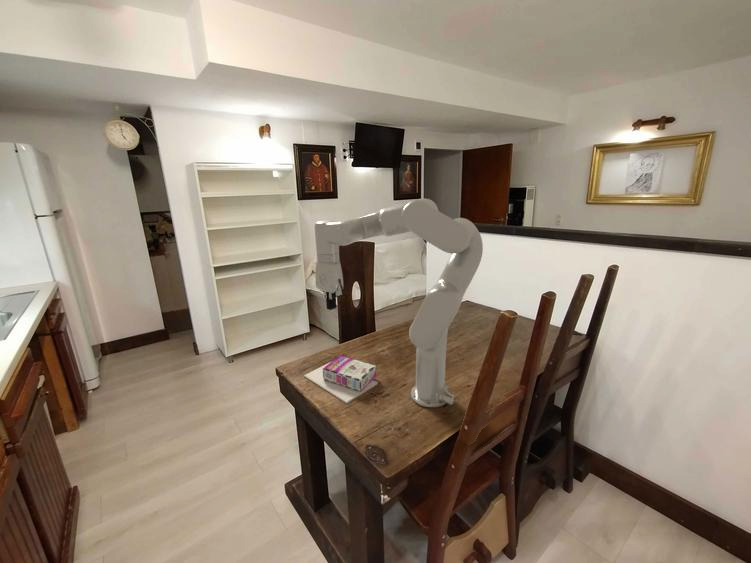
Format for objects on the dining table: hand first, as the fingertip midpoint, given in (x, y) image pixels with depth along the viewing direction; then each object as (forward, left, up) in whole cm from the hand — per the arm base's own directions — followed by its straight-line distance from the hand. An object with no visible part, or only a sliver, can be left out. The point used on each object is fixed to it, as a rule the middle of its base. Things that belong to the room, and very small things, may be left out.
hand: (331, 308), depth 115 cm
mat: (-3, +1, -27) cm, 28 cm away
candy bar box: (+2, 0, -24) cm, 24 cm away
